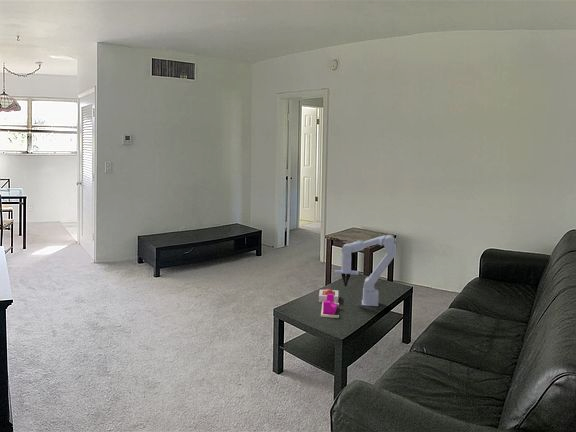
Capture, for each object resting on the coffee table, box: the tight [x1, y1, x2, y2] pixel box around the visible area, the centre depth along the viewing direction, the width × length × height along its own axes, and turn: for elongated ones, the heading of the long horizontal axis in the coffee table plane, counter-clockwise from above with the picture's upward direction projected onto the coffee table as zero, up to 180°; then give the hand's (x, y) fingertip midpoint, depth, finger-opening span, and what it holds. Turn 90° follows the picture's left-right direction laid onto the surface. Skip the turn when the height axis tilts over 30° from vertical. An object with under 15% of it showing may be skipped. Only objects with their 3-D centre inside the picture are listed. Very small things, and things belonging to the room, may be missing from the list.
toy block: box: [323, 294, 338, 315], centre depth 270 cm, size 15×6×8 cm, turn 166°
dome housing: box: [318, 289, 339, 303], centre depth 288 cm, size 12×12×4 cm
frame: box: [320, 302, 340, 319], centre depth 270 cm, size 10×20×1 cm, turn 174°
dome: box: [323, 288, 335, 295], centre depth 288 cm, size 7×7×6 cm
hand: (345, 285), depth 284 cm, fingers closed
